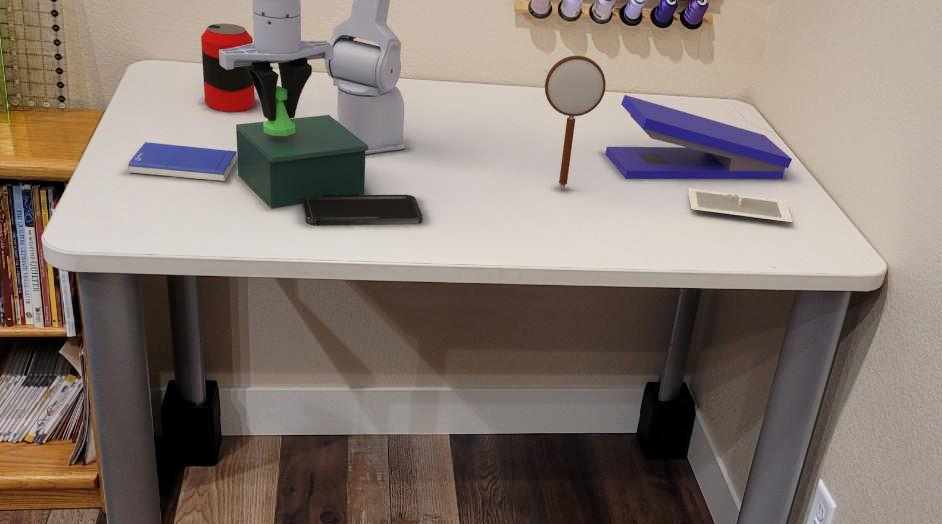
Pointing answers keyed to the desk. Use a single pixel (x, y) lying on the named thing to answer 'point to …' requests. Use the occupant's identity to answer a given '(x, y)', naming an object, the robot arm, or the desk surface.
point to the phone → (362, 210)
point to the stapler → (695, 148)
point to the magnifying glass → (573, 97)
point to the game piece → (280, 117)
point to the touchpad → (739, 205)
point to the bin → (299, 175)
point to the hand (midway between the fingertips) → (279, 117)
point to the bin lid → (304, 139)
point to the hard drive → (183, 161)
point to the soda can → (220, 84)
